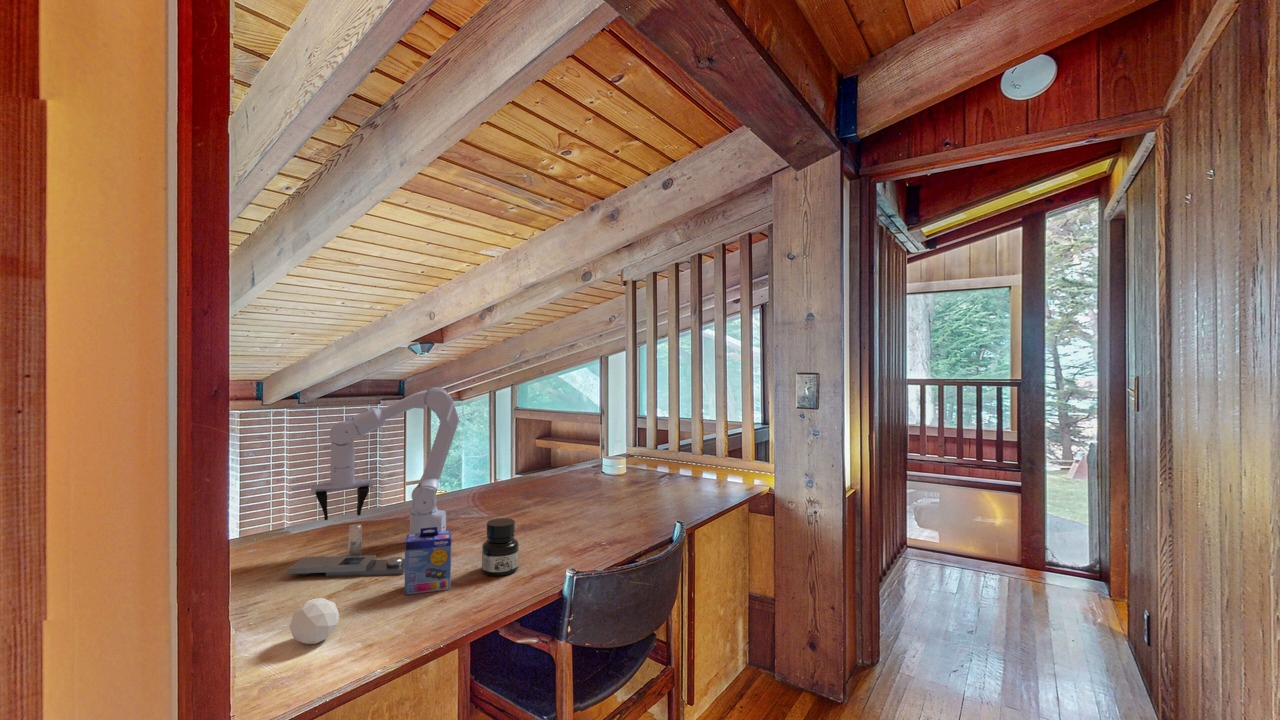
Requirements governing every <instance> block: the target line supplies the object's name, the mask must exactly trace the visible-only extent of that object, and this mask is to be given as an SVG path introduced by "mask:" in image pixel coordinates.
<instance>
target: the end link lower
mask: <svg viewBox="0 0 1280 720" xmlns="http://www.w3.org/2000/svg"><path fill="white" fill-rule="evenodd" d="M359 563H360V562H350V563H345V564H344V565H353V564H359ZM395 575H405V558H403V557H401V556H392V557H389V558H387V559H376V561H375V562H374V563H373V564H372V565H371V566H370V567H369V568H368V569H367V570H366V571H349V572H325V578H344V577H345V578H347V577H365V576H366V577H369V576H371V577H372V576H395Z"/></svg>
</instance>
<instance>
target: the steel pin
mask: <svg viewBox="0 0 1280 720" xmlns="http://www.w3.org/2000/svg"><path fill="white" fill-rule="evenodd" d="M362 526H363V525H362V524H361V523H353V524H350V525H349V526H348V556H362V541H363V540H362V537H363V536H362V535H363V533H362Z"/></svg>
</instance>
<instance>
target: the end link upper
mask: <svg viewBox="0 0 1280 720" xmlns="http://www.w3.org/2000/svg"><path fill="white" fill-rule="evenodd" d="M376 560H377V554H371V555H368V554H367V555H365V554H364V555H361V556H349V555H340V556H339V555H337V556H335V555H334V556H313V557H312V556H311V557H301V558H299V559H298V560H297V561H295V562H294V563H293V564H292V565H290V566H289V567H288V568H287V575H291V574H293V575H294V574H295V575H296V574H298V575H299V576H310V575H313V574H320V573H322V574H323V573H326V572H349V571H366V570H367V569H368V568H369V567H370V566H371V565H372V564H373V563H374V562H375V561H376ZM350 562H360V563H359V564H353V565H344V564H345V563H350Z"/></svg>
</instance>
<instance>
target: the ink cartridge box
mask: <svg viewBox="0 0 1280 720" xmlns="http://www.w3.org/2000/svg"><path fill="white" fill-rule="evenodd" d="M426 530H435V531H433V532H423V531H426ZM404 543H405V544H404V548H405V549H404V559H405V572H404V596H409V595H416V594H423V593H424V594H425V593H433V592H442V591H450V589H451V586H452V585H451V584H452V583H451V582H452V581H451V580H452V530H446V531H438V530H437V527H429V528H421V531H420V533H416V534H410V533H409V534H406V539H405V542H404Z"/></svg>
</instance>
